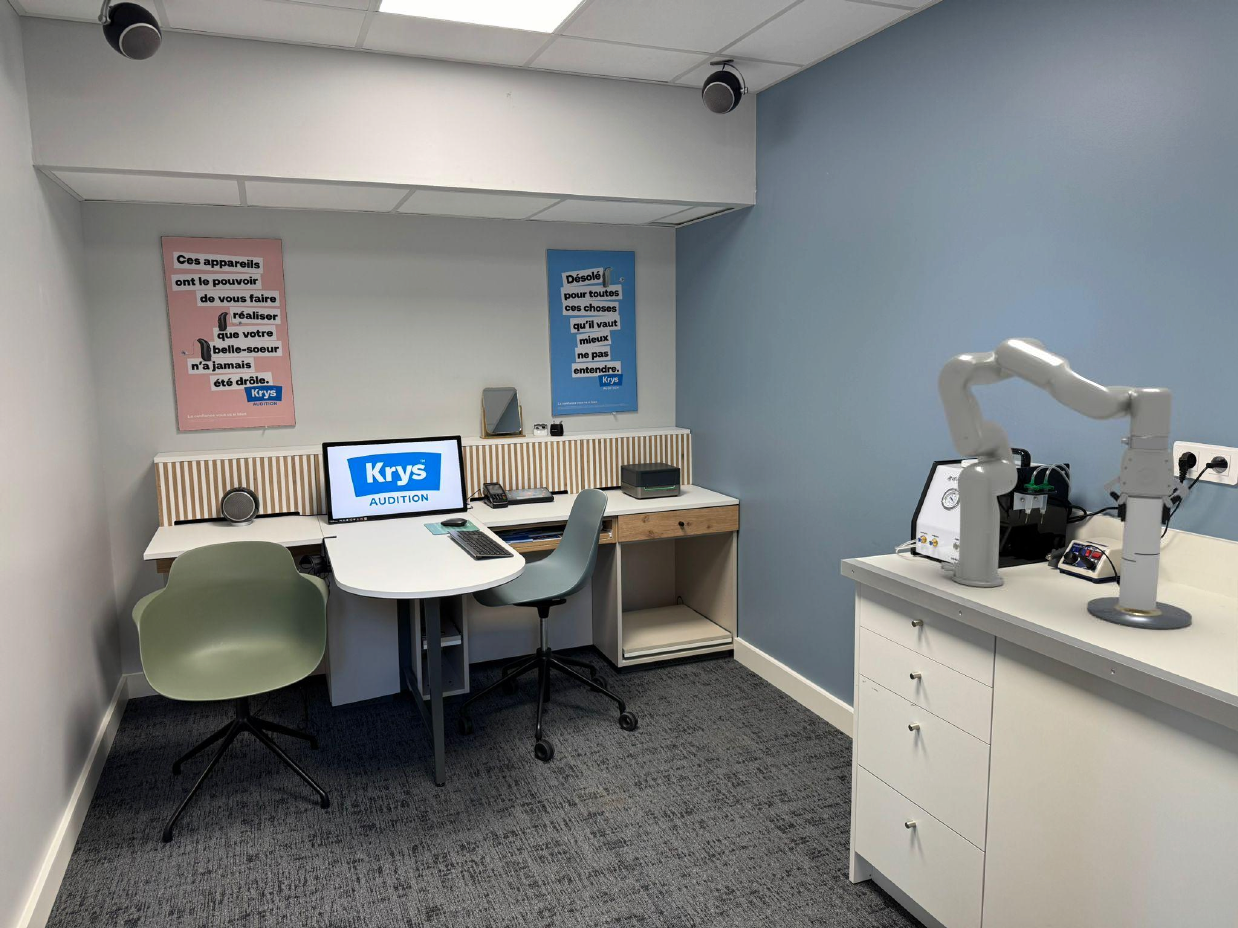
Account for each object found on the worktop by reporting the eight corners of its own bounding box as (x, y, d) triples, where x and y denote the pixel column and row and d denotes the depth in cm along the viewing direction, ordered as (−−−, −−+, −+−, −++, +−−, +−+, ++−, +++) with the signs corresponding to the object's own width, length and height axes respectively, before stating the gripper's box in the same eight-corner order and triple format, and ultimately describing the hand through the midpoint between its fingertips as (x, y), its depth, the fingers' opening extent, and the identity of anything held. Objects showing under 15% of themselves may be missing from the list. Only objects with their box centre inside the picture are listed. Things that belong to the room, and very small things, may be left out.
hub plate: (1087, 621, 181) (1087, 616, 181) (1086, 597, 198) (1086, 592, 198) (1196, 634, 171) (1197, 628, 171) (1186, 608, 189) (1186, 603, 188)
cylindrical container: (1154, 611, 180) (1162, 500, 176) (1116, 606, 184) (1124, 497, 181) (1157, 603, 185) (1165, 495, 182) (1120, 598, 190) (1127, 493, 186)
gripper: (1103, 443, 181) (1098, 522, 183) (1198, 447, 172) (1192, 529, 175) (1102, 440, 187) (1097, 516, 190) (1194, 443, 179) (1187, 522, 181)
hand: (1142, 521), depth 182 cm, fingers closed on cylindrical container, 7 cm apart
